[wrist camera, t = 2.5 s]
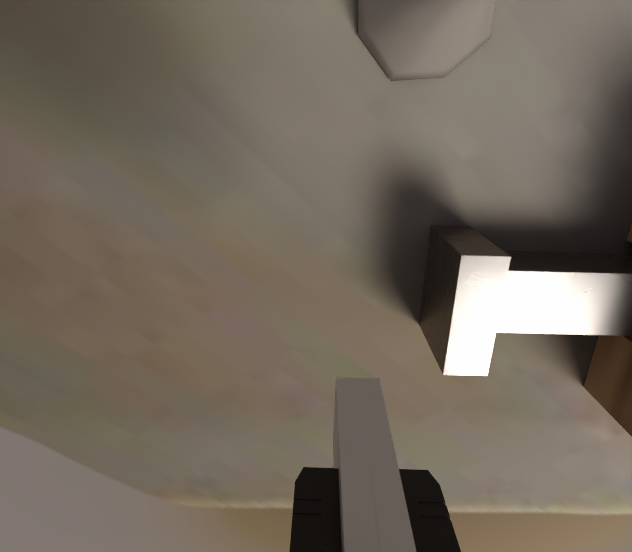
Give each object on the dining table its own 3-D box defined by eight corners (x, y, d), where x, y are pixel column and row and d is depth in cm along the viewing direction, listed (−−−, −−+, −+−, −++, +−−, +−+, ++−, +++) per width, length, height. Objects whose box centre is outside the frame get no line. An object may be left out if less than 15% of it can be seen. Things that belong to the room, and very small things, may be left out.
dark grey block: (418, 324, 29) (443, 374, 23) (431, 225, 26) (461, 255, 21) (602, 328, 29) (671, 380, 23) (631, 230, 26) (716, 262, 21)
